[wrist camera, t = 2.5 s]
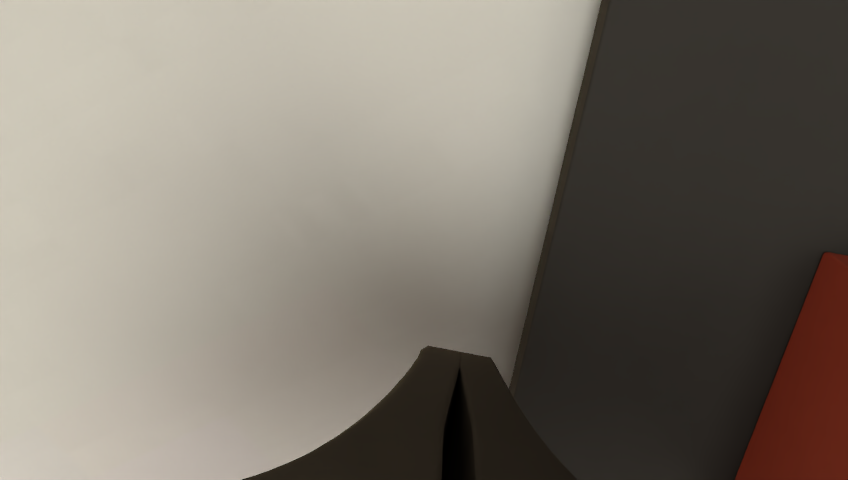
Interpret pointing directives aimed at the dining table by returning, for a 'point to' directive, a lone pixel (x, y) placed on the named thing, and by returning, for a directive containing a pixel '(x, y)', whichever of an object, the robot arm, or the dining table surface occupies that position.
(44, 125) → the dining table surface
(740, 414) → the mat
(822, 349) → the block
